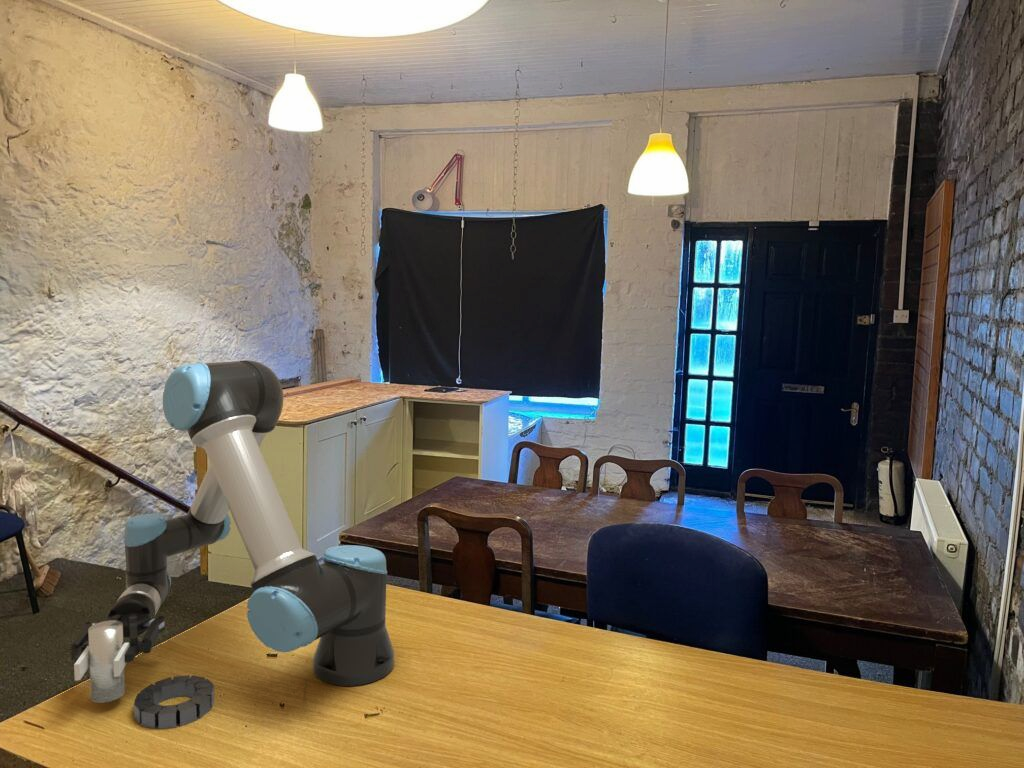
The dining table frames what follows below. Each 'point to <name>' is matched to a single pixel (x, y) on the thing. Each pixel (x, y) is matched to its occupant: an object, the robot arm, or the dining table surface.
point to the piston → (105, 661)
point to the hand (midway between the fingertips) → (96, 670)
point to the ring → (172, 715)
